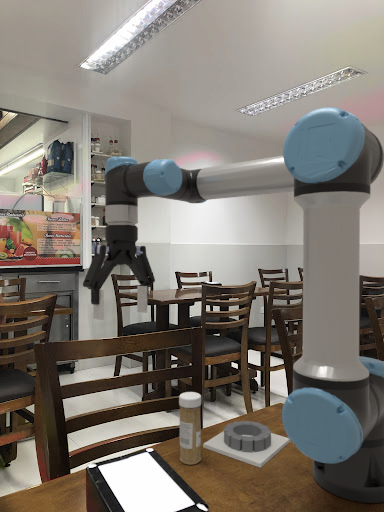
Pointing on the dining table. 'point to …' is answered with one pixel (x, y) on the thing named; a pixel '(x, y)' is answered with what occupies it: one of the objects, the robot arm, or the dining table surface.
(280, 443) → the socket board
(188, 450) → the sprinkles bottle
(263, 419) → the dining table surface
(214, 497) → the dining table surface
